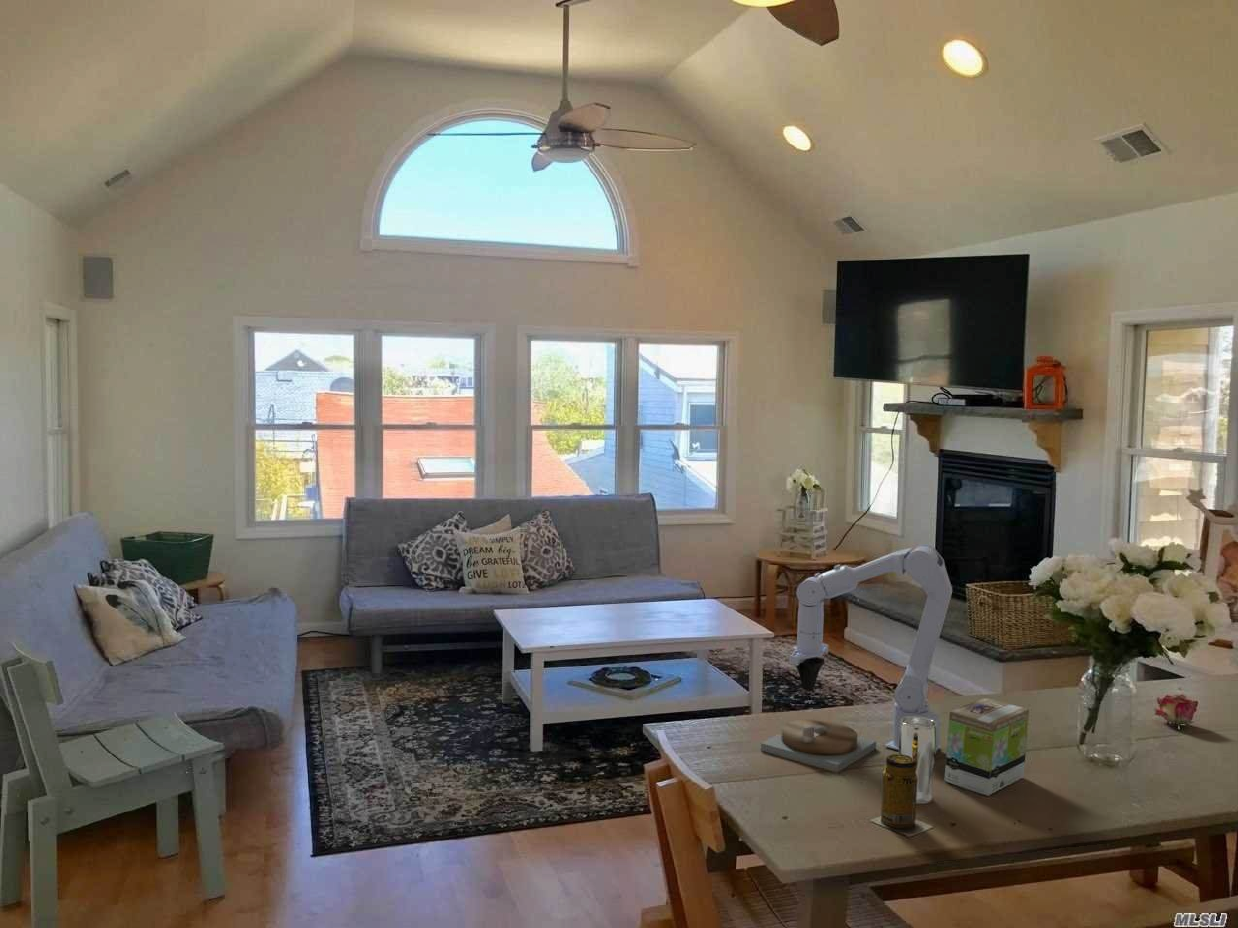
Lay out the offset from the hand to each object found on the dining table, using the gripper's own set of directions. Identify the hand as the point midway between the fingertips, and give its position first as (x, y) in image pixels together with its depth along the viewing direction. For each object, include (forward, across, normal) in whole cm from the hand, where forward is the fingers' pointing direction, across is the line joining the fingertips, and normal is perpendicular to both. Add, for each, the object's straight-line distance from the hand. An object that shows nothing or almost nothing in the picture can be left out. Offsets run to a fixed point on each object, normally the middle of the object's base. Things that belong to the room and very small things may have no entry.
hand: (807, 689), depth 233 cm
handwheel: (+7, +9, +8) cm, 14 cm away
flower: (+10, -63, +63) cm, 90 cm away
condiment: (+10, +32, +37) cm, 50 cm away
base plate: (+9, +9, +8) cm, 15 cm away
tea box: (+10, +1, +41) cm, 42 cm away
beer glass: (+10, +19, +34) cm, 40 cm away
